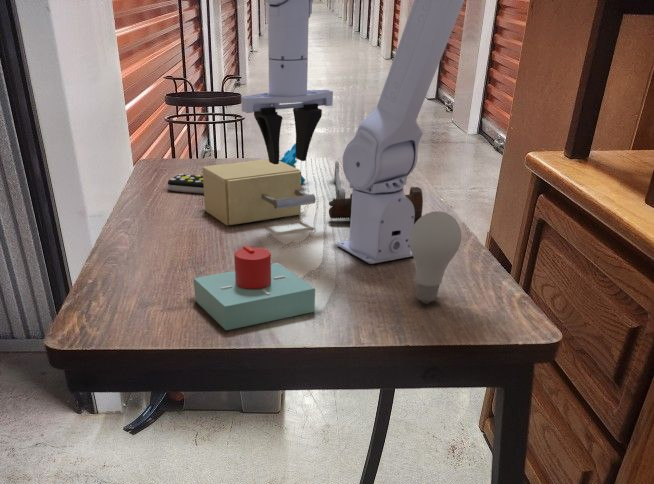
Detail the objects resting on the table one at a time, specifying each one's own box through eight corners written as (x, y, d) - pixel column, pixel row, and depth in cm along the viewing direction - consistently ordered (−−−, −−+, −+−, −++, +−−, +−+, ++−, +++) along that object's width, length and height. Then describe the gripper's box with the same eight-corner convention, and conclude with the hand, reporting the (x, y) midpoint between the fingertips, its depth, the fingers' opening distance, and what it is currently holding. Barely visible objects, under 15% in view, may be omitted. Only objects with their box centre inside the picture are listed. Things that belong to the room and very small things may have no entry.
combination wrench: (346, 188, 115) (341, 159, 130) (338, 188, 115) (334, 159, 130) (344, 211, 117) (340, 179, 133) (337, 210, 117) (333, 179, 133)
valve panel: (314, 311, 82) (315, 287, 80) (226, 330, 78) (224, 305, 76) (278, 284, 89) (278, 261, 87) (195, 301, 85) (193, 276, 83)
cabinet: (299, 214, 114) (299, 169, 110) (226, 225, 109) (224, 179, 105) (274, 200, 121) (274, 158, 116) (205, 210, 116) (202, 166, 112)
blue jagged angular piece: (267, 167, 133) (302, 129, 128) (287, 189, 136) (323, 153, 131) (261, 189, 126) (298, 151, 120) (283, 212, 129) (320, 175, 123)
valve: (277, 285, 81) (277, 253, 78) (244, 291, 79) (243, 259, 77) (261, 273, 84) (261, 242, 81) (229, 279, 82) (228, 247, 80)
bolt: (328, 231, 113) (417, 227, 112) (330, 223, 108) (422, 220, 107) (327, 194, 112) (417, 191, 111) (329, 185, 107) (423, 181, 106)
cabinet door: (317, 223, 109) (318, 179, 105) (245, 234, 105) (243, 189, 100) (299, 213, 114) (299, 171, 109) (229, 224, 109) (227, 180, 105)
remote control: (227, 196, 123) (227, 185, 122) (165, 191, 126) (164, 180, 125) (239, 188, 128) (239, 177, 126) (179, 183, 131) (178, 172, 129)
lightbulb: (444, 293, 87) (458, 204, 80) (455, 312, 82) (471, 219, 75) (397, 293, 86) (408, 205, 80) (406, 312, 82) (418, 220, 75)
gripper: (318, 53, 101) (315, 151, 110) (231, 58, 96) (235, 160, 105) (341, 57, 96) (336, 160, 105) (251, 63, 91) (254, 170, 100)
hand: (287, 161), depth 104 cm, fingers open, 4 cm apart
